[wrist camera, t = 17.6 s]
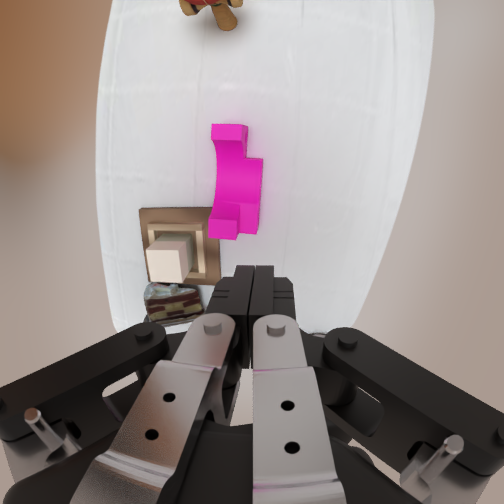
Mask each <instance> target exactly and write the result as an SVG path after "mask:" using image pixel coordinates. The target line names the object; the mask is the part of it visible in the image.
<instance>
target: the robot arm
mask: <svg viewBox="0 0 504 504" xmlns="http://www.w3.org/2000/svg"><path fill="white" fill-rule="evenodd" d="M250 357H251V368H252V369H253V423H252V424H245V425H239V426H230V422H231V418H232V414H233V411H234V407H235V403H236V398H237V395H238V391H239V387H240V381H239V379H240V377H241V371H242V369H249V366H250ZM133 372H136V375H137V377H138V380H137V381H135V382H134V383H132V384H130V385H128V386H127V387H125V388H123V389H121V390H119V391H117V392H115V393H113V394H111V395H109V396H107V397H102V392H103V390H104V389H105V388H106V387H107V386H109V385H111V384H113V383H114V382H116V381H118V380H120V379H122V378H124V377H126V376H128V375H130V374H131V373H133ZM358 387H360V388H361V389H363V390H364V391H365V392H367V393H368V394H370V395H371V396H372V397H374V398H376V399H377V400H378V401H379V402H380V403H379V402H378V401H376V400H375V399H374V398H372V397H371V396H369V395H368V394H366V393H365V392H364V391H362V390H361V389H359V388H358ZM352 438H353V439H354V440H356V441H357V442H358V443H360V444H361V445H362V446H363V447H365V448H366V449H367V450H369V451H370V452H371V453H373V454H374V455H375V456H377V457H378V458H379V459H381V460H382V461H383V462H385V463H386V464H387V465H389V466H390V467H392V468H393V469H395V470H396V471H397V472H399V473H400V486H401V487H400V486H399V485H397V484H396V483H395V482H394V481H392V480H391V479H390V478H389V477H387V476H386V475H385V474H383V473H382V472H381V471H380V470H378V469H377V468H376V467H375V466H374V464H373V461H372V460H371V458H370V457H369V455H368V454H367V453H366V452H365V451H364V450H362V449H361V448H358V447H353V446H352V447H351V446H349V445H348V443H349V442H350V441H351V440H352ZM0 440H1V441H2V443H3V447H4V450H5V454H6V457H7V460H8V464H9V467H10V470H11V473H12V476H13V479H14V482H15V484H14V485H13V486H12V487H11V488H10V489H9V490H8V492H7V493H6V495H5V498H4V500H3V504H476V502H477V500H478V499H479V497H480V495H481V494H482V492H483V490H484V489H485V487H486V485H487V483H488V481H489V480H490V478H491V476H492V475H493V474H495V473H496V472H497V471H498V470H499V469H500V468H502V467H503V466H504V413H502V412H500V411H498V410H496V409H495V408H493V407H491V406H489V405H487V404H486V403H484V402H482V401H480V400H479V399H477V398H475V397H473V396H472V395H470V394H468V393H466V392H465V391H463V390H461V389H459V388H458V387H456V386H454V385H452V384H451V383H448V382H447V381H445V380H444V379H442V378H440V377H438V376H437V375H435V374H433V373H431V372H430V371H428V370H426V369H424V368H423V367H421V366H419V365H418V364H416V363H414V362H413V361H411V360H409V359H407V358H406V357H404V356H402V355H401V354H398V353H397V352H395V351H394V350H392V349H390V348H389V347H387V346H385V345H383V344H382V343H380V342H378V341H377V340H375V339H373V338H372V337H370V336H368V335H366V334H365V333H363V332H361V331H359V330H357V329H353V328H347V327H343V328H336V329H333V330H331V331H330V332H328V333H327V334H326V335H319V334H318V335H310V334H308V333H306V332H304V331H303V330H301V329H300V328H299V325H298V323H297V322H296V314H295V303H294V292H293V284H292V282H291V281H290V280H289V279H288V278H287V277H274V266H258V265H256V269H255V266H248V265H237V266H236V270H235V273H234V277H223V278H222V279H221V280H219V281H218V282H217V283H216V285H215V288H214V292H213V293H212V297H211V299H210V301H209V304H208V307H207V309H206V312H205V315H202V316H200V317H198V318H196V319H195V320H194V321H193V322H192V324H191V326H190V327H189V329H188V331H186V332H181V333H174V334H167V335H166V331H165V328H164V327H163V326H162V325H160V324H158V323H155V322H143V323H139V324H136V325H134V326H132V327H130V328H128V329H126V330H123V331H121V332H119V333H117V334H115V335H113V336H111V337H109V338H107V339H105V340H102V341H100V342H98V343H96V344H94V345H92V346H90V347H88V348H86V349H83V350H81V351H79V352H77V353H75V354H73V355H71V356H68V357H66V358H64V359H62V360H60V361H58V362H55V363H53V364H51V365H49V366H47V367H45V368H42V369H40V370H38V371H36V372H34V373H32V374H30V375H27V376H25V377H23V378H21V379H18V380H16V381H14V382H12V383H10V384H7V385H5V386H3V387H1V388H0Z"/></svg>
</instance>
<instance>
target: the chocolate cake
mask: <svg viewBox="0 0 504 504" xmlns="http://www.w3.org/2000/svg"><path fill="white" fill-rule="evenodd" d="M144 301H145V306H146V311H147V315H146V317H145V319H144V322H155V323H158V324H160V325H162V326H163V327H169V326H173V325H178V324H184V323H189V322H193V321H194V320H195V319H196V318H198V317H200V316H202V315H205V312H206V310H205V309H202V306H201V305H200V299H199V296H198V291H197V290H195V289H190V288H179V287H178V284H177V283H171V285H170V286H166V285H162V284H159V283H157V282H153V283H152V284H150V285H148V286H147V287H146V290H145V292H144Z"/></svg>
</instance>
